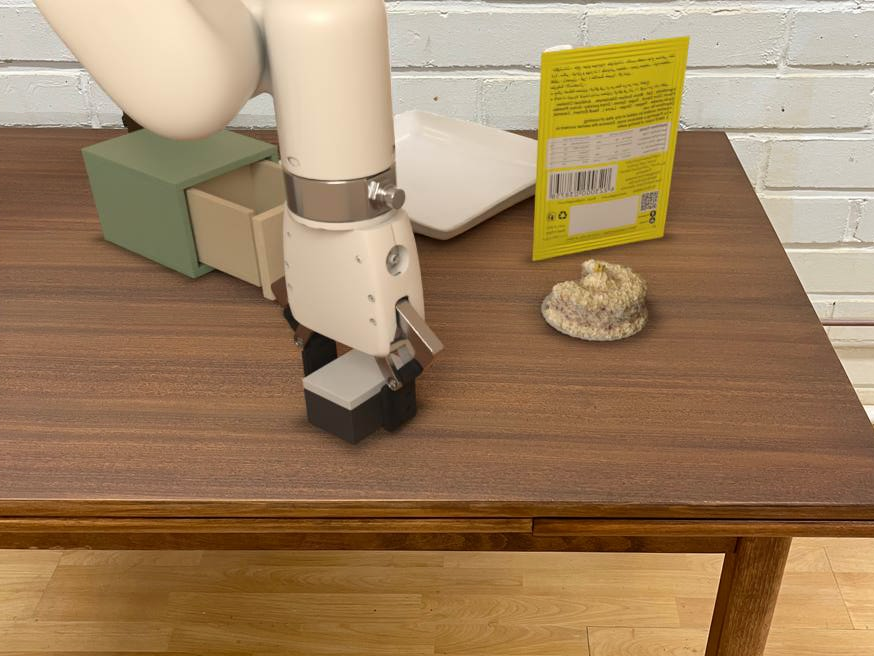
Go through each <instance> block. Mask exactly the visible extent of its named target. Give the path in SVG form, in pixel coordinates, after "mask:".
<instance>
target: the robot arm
mask: <svg viewBox="0 0 874 656" xmlns="http://www.w3.org/2000/svg"><path fill="white" fill-rule="evenodd" d="M32 2H33V3H34V5H35V6H36V8H37V9H38V11H39V13H40V14H41V16H42V17H43V18H44V20H45V21H46V22H47V24H48V26H50V28H51V29H52V30H53V32H54V33H55V34H56V35H57V37H58V38H59V39H60V41H62V43H63V44H64V45H65V47H66V48H67V49H68V50H69V52H70V53H71V54H72V55H73V56H74V58H75V59H76V60H77V61H78V63H79V64H80V65H81V66H82V68H83V69H84V70H85V71H86V72H87V74H88V75H89V76H90V77H91V78H92V79H93V81H94V82H95V83H96V84H97V85H98V87H99V88H100V89H101V90H102V91H103V92H104V93H105V95H107V97H108V98H109V99H110V100H111V101H112V103H114V104H115V106H117V107H118V108H119V109H120V110H121V111H122V112H123V111H124V112H125V113H126V114H127V115H128V116H129V117H131V118H132V119H133V120H134V121H135V122H137V123H138V124H139V125H141V126H143V127H144V128H146V129H147V130H149V131H151V132H152V133H154V134H157V135H159V136H162V137H164V138H167V139H171V140H176V141H198V140H202V139H206V138H208V137H211V136H213V135H215V134H217V133H218V132H220V131H221V130H223V129H225V128H226V127H228V126H229V125H230V124H231V123H232V121H233V120H234V119H235V118H236V117H237V116H238V114H239V113H240V112H241V111H242V110H243V109H244V107H245V106H246V104H247V102H248V101H251V100H252V99H254V98H256V97H259V96H261V95H262V94H268V95H270V96H271V98H272V102H273V108H274V116H275V123H276V131H277V139H278V146H279V154H280V160H281V164H282V170H283V178H284V185H285V193H286V201H285V203H284V215H283V255H284V269H285V275H284V276H283V277H281V278H280V279H278V280H277V281H275V282H274V283H272V284H271V290H272V292H273V294H274V296H275V297H276V299H275V300H276V301H277V303H278V304H279V306H280V308H281V309H282V313H283V314H282V315H283V317H284V319H285V320H286V322H287V323H288V325H289V326H290V328H291V329H292V331H293V332H294V335H293V342H294V344H295V345H296V347H297V348H299V349H302V350H301V360H302V367H303V368H302V369H303V373H304V374H303V375H304V378H305V377H307V376H308V375H310V374H312V373H314V372H315V371H317V370H319V369H320V368H322V367H324V366H325V365H327V364H329V363H330V362H332V361H334V360H336V359H337V358H339V356H338V347H337V342H338V343H340V344H343V345H345V346H347V347H350V348H352V349H357V350H359V351H362V352H364V353H367V354H369V355H372V356H374V358H375V360H376V362H377V365H378V367H379V369H380V371H381V373H382V375H383V377H384V379H385V381H386V383H387V384H385V385H384V386H382V388H381V402H382V415H383V426H382V427H383V428H384V430H385V431H387V432H389V433H394V432H395V431H396V430H398V429H400V428H401V427H402V426H404V425H406V423H408V422H410V421H411V420H412V419H414V418H415V417H416V415H417V413H418V412H417V411H418V409H417V385H416V379H417V378H419V377H420V376H421V375H422V374H423V373H425V372H426V371H428V370H429V369H431V368H432V367H433V365H434V364H435V363H436V361H438V359H440V357H441V356H442V355H443V354H444V352H445V346H444V344H443V342H442V341H441V340H440V339H439V338H438V336H437V335H436V334H435V333H434V331H433V330H432V329H431V328H430V326H429V325H428V324H427V323H426V313H425V300H424V289H423V281H422V280H423V279H422V274H421V267H420V265H421V264H420V259H419V254H418V249H417V243H416V239H415V235H414V234H415V233H414V232H413V230H412V226H411V223H410V220H409V216H408V213H407V211H406V210H404V209H402V208H401V207H402V206H403V204H404V202H405V192H404V191H403V190H402V189H399V188H397V173H396V152H395V134H394V117H393V116H394V99H393V97H394V96H393V80H392V79H393V78H392V64H391V63H392V59H391V43H390V40H391V39H390V22H389V14H388V13H389V12H388V7H387V4H386V2H385V0H32ZM396 351H397V354H398V356H399V357H400V358H401V360H402V362H403V364H404V365H403V366H402V367H400V368H399V369H398V370H397V368H396V366H395V364H394V362H393V360H392V357H391V355H390V354H391V353H392V354H394V352H396Z"/></svg>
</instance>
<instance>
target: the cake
mask: <svg viewBox="0 0 874 656" xmlns="http://www.w3.org/2000/svg"><path fill="white" fill-rule="evenodd" d="M635 272H636V271H634V270H633V267H629V266H627V267H626V265H625V264H620V263H619V264H617V263H614V262H607V261H604V259H601V260H600V259H596V260H595V259H592V258H591V259H588V260H585V261H584V262H582V263H581V272H580V273H581V278H579V281H578V280H576V279H574V280H571V281H570V280H566V281H564V282H559V283H557V284H555V285H553V286H552V290H551V292H549V294H547V295H546V296H545V298H544V299H543V300H542V303H541V304H540V307H541V309H540V312H541V313H542V317H543V318H544V319H545V322H547V323H548V324H549V325H550V326H551V327H552V328H554V329H555V330H557V331H558V332H561V333H562V334H564V335H568V336H570V337H572V338H579V339H581V340H586V341H587V340H588V341H592V342H593V341H595V342H596V341H600V342H606V341H610V342H613V341H616V340H623V339H625V338H629V337H632V336H636V334H638V333H639V332H641V331H642V330H643V328H646V325H647V323H648V322H649V318H650V316H649V311H648V310H647V307H646V306H647V305H646V301H647V295H648V291H649V288H650V287H648V285H649V282H648V280H646V279H645V278H644V277H643V276H642V275H641V274H640V273H635Z"/></svg>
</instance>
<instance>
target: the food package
mask: <svg viewBox="0 0 874 656" xmlns="http://www.w3.org/2000/svg"><path fill="white" fill-rule="evenodd" d="M690 39H691V37H690V36H689V35H684V36H676V37H666V38H657V39H649V40H648V39H647V40H639V41H629V42H620V43H612V44H604V45H602V44H601V45H595V46H594V47H585V48H576V49H567V50H560V51H551V52H544V51H543V52H541V55H540V75H539V78H540V79H539V81H540V82H539V99H538V100H539V102H538V103H539V104H538V123H537V125H538V127H537V141H538V145H537V168H536V192H535V195H534V196H535V197H534V219H533V220H534V221H533V239H532V240H533V241H532V257H531V258H532V262H537V261H542V260H547V259H552V258H557V257H562V256H568V255H574V254H578V253H579V254H580V253H583V252H589V251H594V250H601V249H605V248H610V247H617V246H621V245H627V244H632V243H637V242H638V243H639V242H643V241H649V240H655V239H660V238H664V233H665V226H666V220H667V211H668V205H669V197H670V190H671V182H672V174H673V167H674V160H675V152H676V146H677V137H678V132H679V131H678V130H679V123H680V115H681V108H682V100H683V91H684V84H685V79H686V72H687V64H688V55H689V47H690V46H689V45H690Z"/></svg>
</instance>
